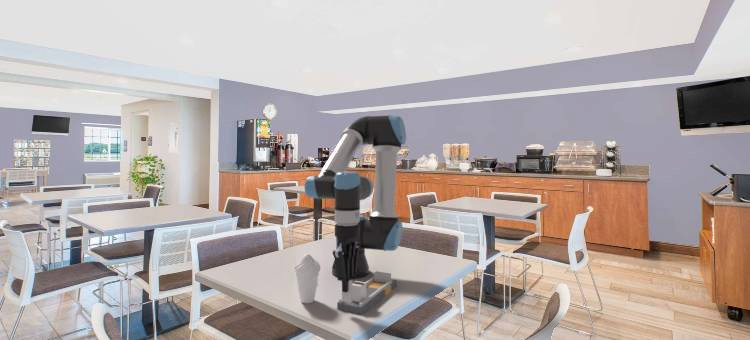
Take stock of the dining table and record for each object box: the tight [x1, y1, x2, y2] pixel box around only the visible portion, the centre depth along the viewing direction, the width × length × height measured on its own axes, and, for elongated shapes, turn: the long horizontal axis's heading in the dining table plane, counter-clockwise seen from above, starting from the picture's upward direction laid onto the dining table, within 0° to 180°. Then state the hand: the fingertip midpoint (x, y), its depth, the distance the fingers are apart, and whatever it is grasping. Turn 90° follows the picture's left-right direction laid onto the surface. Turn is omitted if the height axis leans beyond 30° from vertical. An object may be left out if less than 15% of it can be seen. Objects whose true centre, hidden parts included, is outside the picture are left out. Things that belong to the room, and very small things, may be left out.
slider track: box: [336, 271, 398, 315], centre depth 123 cm, size 9×27×5 cm, turn 154°
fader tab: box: [352, 280, 366, 302], centre depth 115 cm, size 4×4×5 cm
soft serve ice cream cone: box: [294, 252, 321, 304], centre depth 118 cm, size 8×8×16 cm
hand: (347, 301), depth 109 cm, fingers closed
